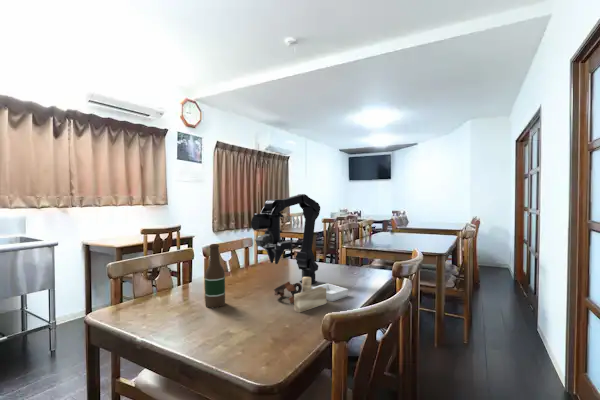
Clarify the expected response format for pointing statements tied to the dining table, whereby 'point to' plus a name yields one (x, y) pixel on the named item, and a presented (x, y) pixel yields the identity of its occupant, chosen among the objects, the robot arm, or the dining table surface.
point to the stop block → (309, 299)
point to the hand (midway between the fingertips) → (274, 263)
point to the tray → (333, 292)
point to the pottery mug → (290, 288)
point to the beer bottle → (214, 280)
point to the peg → (306, 283)
